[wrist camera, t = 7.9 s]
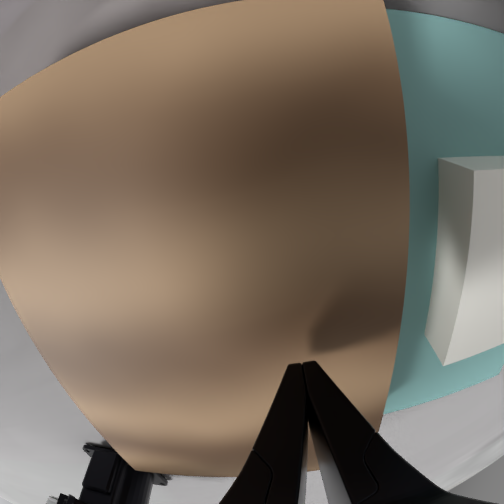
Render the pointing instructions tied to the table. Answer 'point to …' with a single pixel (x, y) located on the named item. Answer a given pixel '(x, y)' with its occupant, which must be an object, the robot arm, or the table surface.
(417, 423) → the table surface
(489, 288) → the white rectangular block
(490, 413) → the table surface
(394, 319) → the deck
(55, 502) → the ink cartridge box
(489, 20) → the table surface
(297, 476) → the robot arm
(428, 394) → the mat
